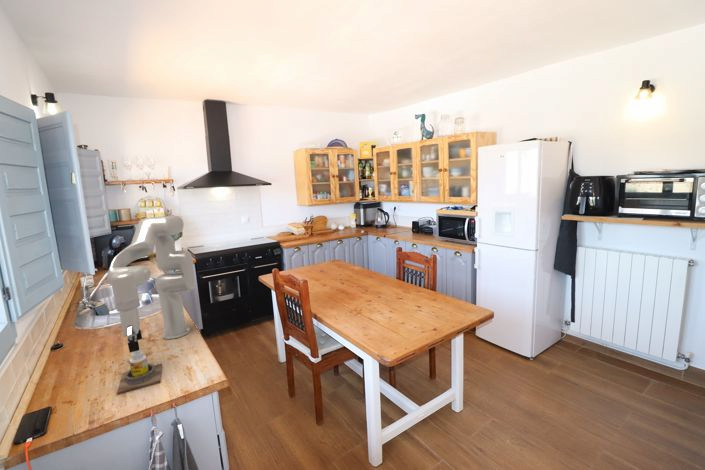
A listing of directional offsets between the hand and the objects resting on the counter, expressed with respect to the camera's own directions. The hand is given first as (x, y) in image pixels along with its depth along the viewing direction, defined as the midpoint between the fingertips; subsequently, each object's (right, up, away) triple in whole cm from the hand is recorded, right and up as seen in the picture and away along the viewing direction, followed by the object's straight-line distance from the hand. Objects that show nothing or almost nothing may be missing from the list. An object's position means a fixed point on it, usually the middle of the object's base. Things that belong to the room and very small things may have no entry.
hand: (136, 345), depth 132 cm
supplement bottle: (+1, -13, +2) cm, 13 cm away
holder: (+1, -14, +2) cm, 14 cm away
